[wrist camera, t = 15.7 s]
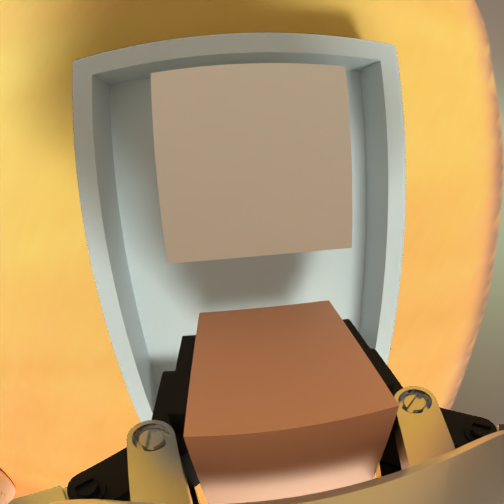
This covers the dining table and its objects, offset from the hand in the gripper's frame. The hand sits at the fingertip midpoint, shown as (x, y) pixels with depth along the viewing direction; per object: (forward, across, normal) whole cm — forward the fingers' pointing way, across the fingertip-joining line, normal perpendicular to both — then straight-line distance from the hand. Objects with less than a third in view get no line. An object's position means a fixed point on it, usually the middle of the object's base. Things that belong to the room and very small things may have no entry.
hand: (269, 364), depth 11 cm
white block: (+3, 0, -7) cm, 8 cm away
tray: (+4, 0, -4) cm, 5 cm away
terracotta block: (0, 0, 0) cm, 0 cm away
